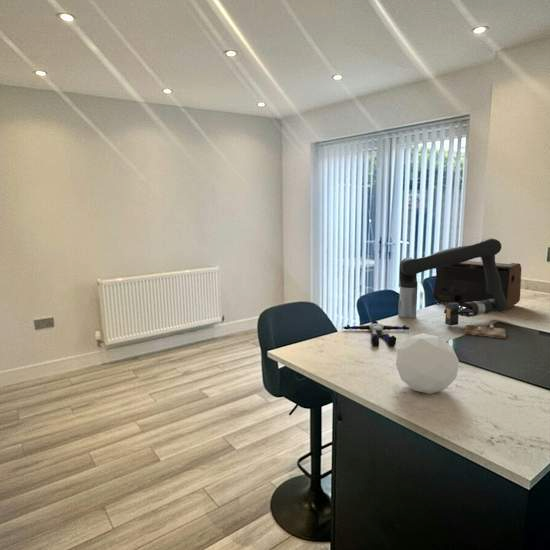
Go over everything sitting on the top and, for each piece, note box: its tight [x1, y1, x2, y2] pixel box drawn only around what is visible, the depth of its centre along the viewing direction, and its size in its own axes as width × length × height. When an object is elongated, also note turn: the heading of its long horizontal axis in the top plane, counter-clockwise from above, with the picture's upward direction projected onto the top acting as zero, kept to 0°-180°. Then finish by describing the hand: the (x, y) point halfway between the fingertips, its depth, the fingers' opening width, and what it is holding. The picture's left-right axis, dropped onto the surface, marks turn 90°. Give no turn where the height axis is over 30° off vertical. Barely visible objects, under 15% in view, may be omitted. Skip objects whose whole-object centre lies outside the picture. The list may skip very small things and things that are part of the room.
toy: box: [342, 319, 410, 348], centre depth 190 cm, size 33×6×30 cm
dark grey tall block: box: [444, 302, 460, 327], centre depth 201 cm, size 5×4×11 cm
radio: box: [432, 260, 522, 311], centre depth 245 cm, size 45×32×28 cm
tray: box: [464, 324, 507, 340], centre depth 191 cm, size 17×12×4 cm
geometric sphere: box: [395, 332, 460, 395], centre depth 132 cm, size 19×20×20 cm
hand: (448, 312), depth 200 cm, fingers closed on dark grey tall block, 3 cm apart
